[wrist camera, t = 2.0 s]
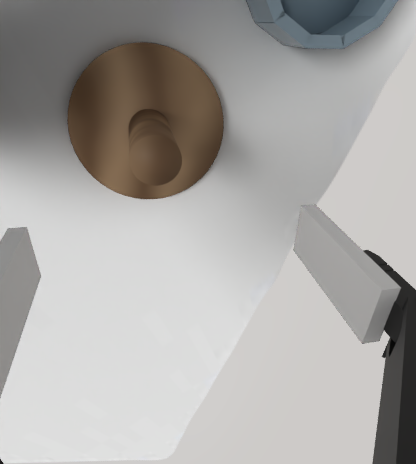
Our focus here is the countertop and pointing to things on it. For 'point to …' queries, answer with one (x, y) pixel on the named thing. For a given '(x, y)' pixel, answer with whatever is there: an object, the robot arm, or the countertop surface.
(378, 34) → the countertop surface
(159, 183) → the lid
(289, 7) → the bowl
